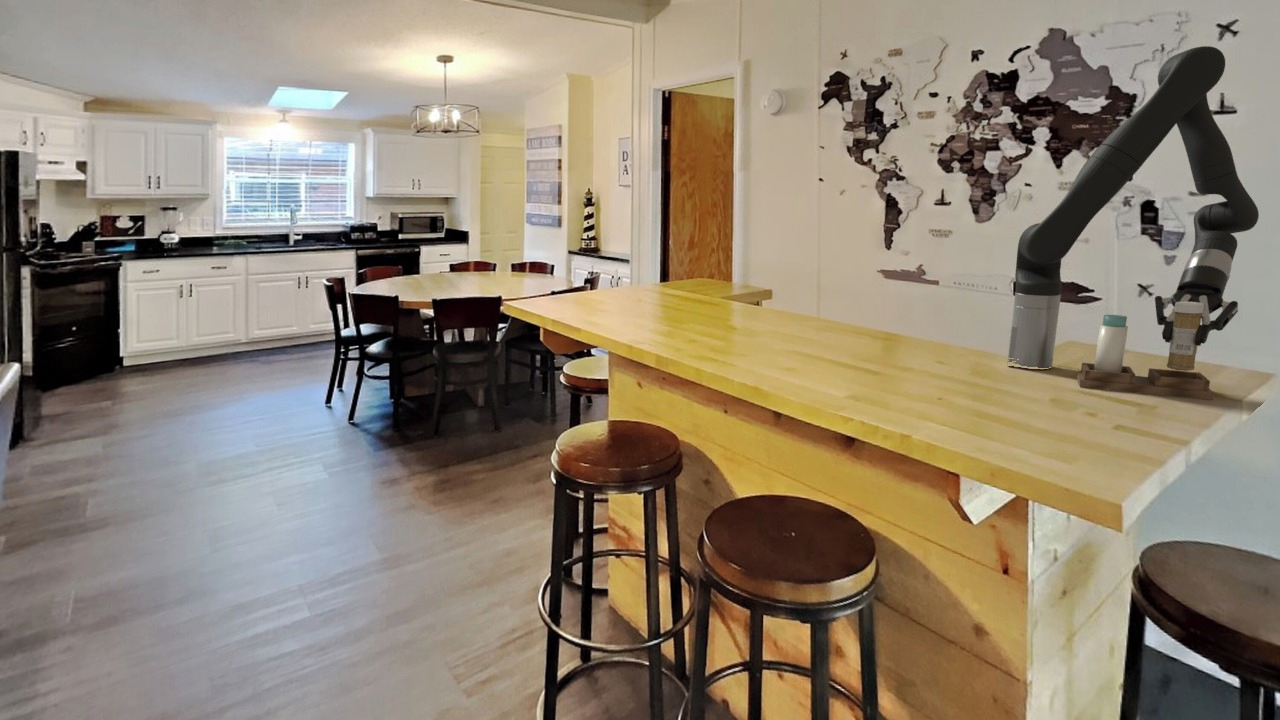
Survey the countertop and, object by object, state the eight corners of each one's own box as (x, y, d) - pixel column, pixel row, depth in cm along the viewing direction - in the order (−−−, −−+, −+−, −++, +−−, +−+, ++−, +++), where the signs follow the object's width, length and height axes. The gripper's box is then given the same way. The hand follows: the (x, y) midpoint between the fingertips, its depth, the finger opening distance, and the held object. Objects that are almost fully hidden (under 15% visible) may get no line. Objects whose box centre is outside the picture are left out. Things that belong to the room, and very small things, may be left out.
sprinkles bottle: (1197, 369, 141) (1208, 302, 138) (1188, 372, 139) (1199, 304, 136) (1171, 365, 145) (1181, 300, 142) (1161, 368, 143) (1171, 302, 140)
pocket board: (1079, 387, 146) (1081, 370, 145) (1076, 377, 155) (1078, 361, 154) (1212, 400, 136) (1215, 382, 135) (1200, 388, 145) (1203, 372, 144)
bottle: (1094, 378, 147) (1102, 316, 144) (1092, 373, 151) (1100, 313, 148) (1121, 381, 145) (1130, 318, 142) (1118, 376, 149) (1127, 315, 146)
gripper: (1161, 262, 148) (1137, 326, 142) (1249, 265, 137) (1227, 334, 132) (1164, 285, 152) (1141, 348, 147) (1250, 290, 142) (1228, 358, 136)
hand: (1182, 341), depth 139 cm, fingers closed on sprinkles bottle, 4 cm apart
